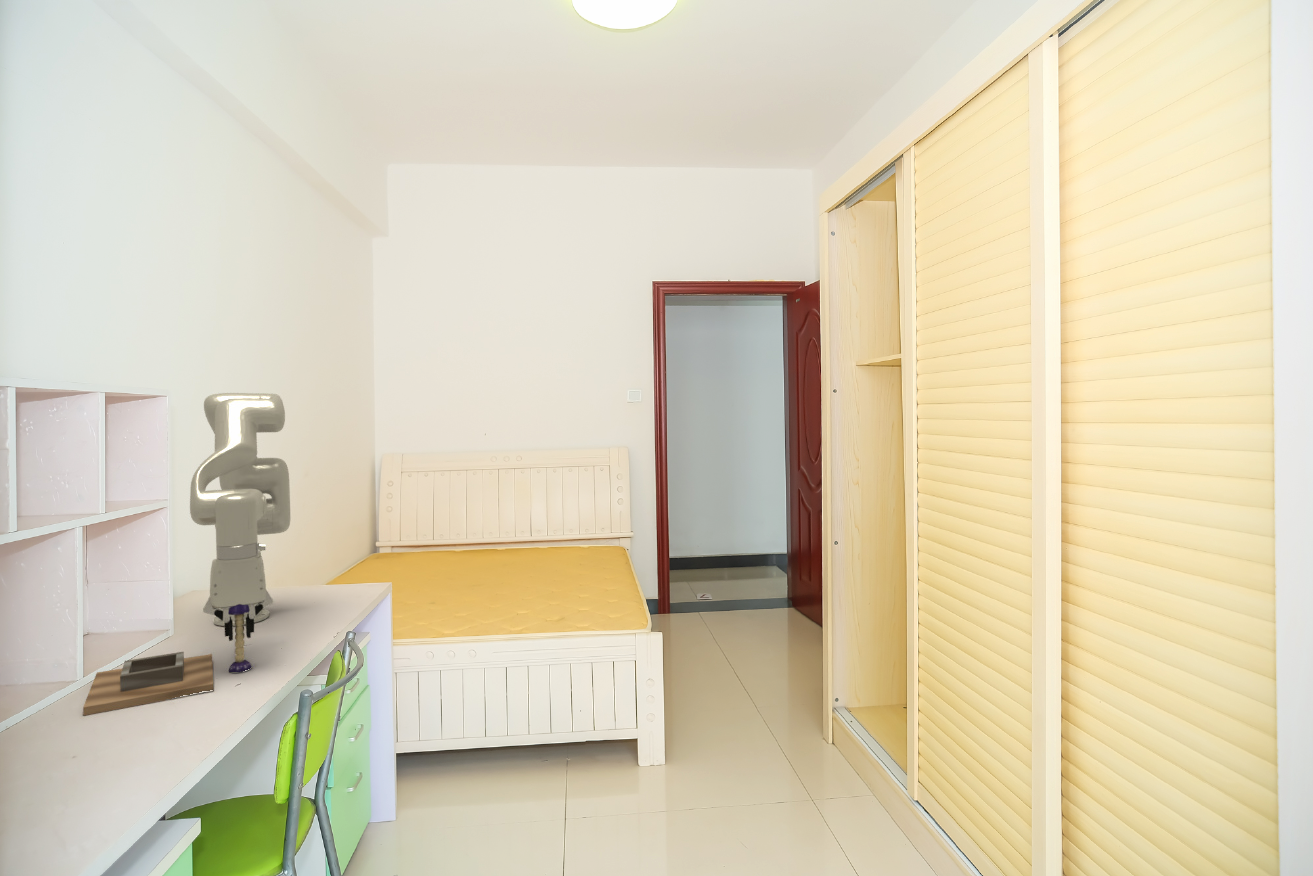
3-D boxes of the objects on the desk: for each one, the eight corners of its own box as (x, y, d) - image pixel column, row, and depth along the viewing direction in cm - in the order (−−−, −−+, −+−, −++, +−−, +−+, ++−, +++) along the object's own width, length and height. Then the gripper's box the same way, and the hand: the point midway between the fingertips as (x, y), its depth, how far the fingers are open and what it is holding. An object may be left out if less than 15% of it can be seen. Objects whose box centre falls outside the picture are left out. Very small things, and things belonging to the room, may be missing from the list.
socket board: (97, 679, 144) (96, 658, 144) (212, 660, 155) (211, 640, 155) (83, 715, 127) (82, 691, 127) (213, 691, 138) (212, 668, 138)
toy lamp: (258, 667, 151) (256, 591, 150) (239, 675, 146) (236, 596, 145) (241, 664, 152) (239, 589, 151) (222, 672, 148) (219, 594, 147)
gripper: (279, 545, 156) (281, 626, 156) (191, 553, 147) (194, 639, 148) (282, 550, 149) (284, 635, 150) (191, 559, 140) (193, 650, 141)
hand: (239, 637), depth 149 cm, fingers closed on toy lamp, 2 cm apart
